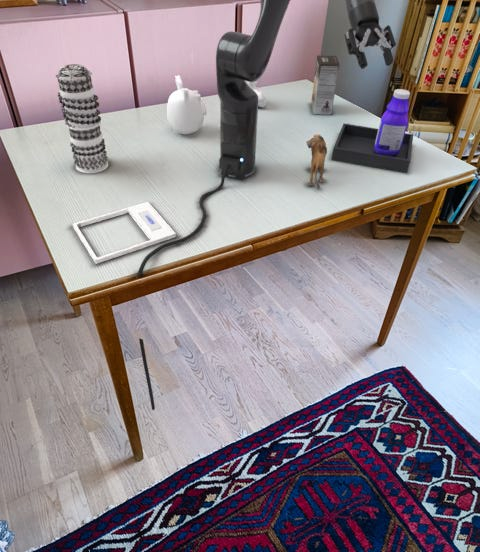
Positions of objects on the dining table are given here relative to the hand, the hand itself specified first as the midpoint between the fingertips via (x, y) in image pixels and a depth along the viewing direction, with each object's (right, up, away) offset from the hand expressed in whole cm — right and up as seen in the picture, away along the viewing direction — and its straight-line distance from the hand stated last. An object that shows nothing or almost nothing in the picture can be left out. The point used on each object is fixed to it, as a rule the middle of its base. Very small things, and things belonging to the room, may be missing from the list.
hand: (377, 65), depth 127 cm
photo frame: (-63, -48, -25) cm, 83 cm away
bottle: (+4, -22, +6) cm, 24 cm away
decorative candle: (-77, -28, -3) cm, 82 cm away
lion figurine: (-18, -31, -4) cm, 36 cm away
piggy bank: (-54, -14, +14) cm, 57 cm away
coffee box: (-10, -1, +30) cm, 32 cm away
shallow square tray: (0, -22, +7) cm, 23 cm away
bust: (-34, +1, +32) cm, 46 cm away
